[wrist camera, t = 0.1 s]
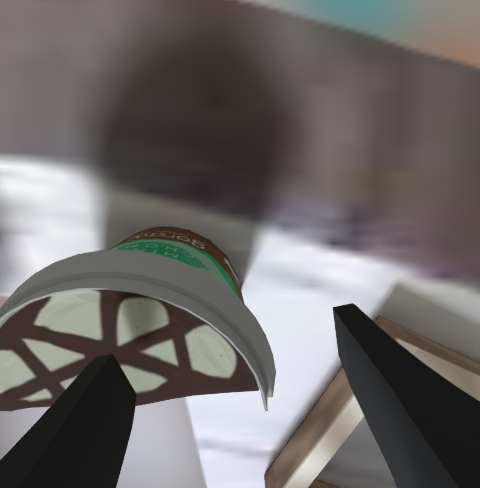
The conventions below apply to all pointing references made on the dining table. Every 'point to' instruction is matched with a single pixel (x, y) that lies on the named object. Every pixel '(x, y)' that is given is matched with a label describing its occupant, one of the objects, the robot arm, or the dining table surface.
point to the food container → (134, 323)
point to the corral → (357, 411)
